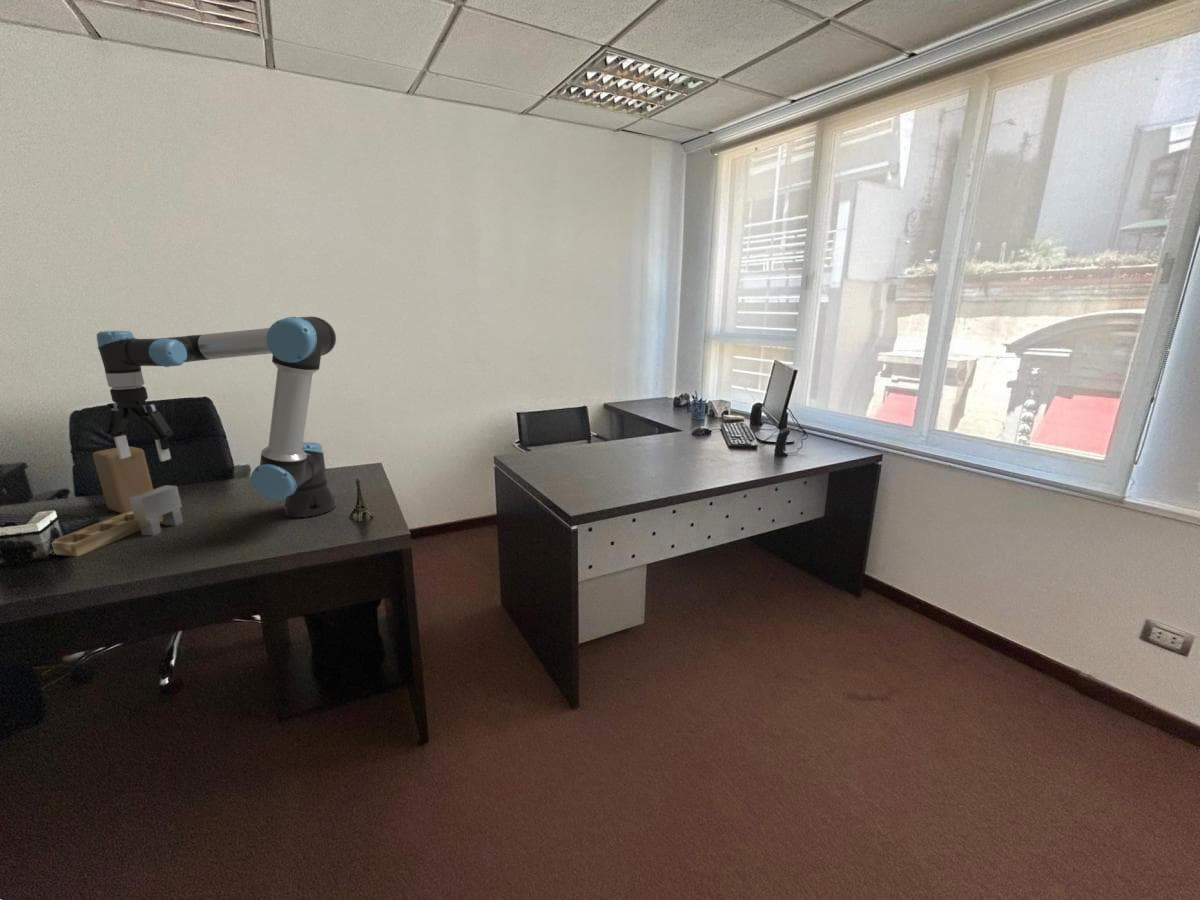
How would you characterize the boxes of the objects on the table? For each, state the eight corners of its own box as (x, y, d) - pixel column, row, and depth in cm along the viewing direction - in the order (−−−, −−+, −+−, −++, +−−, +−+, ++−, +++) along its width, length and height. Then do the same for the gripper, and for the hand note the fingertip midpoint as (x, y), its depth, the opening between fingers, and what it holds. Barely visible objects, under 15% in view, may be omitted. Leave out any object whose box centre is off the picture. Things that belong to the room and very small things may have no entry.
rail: (175, 515, 163) (172, 505, 162) (77, 556, 136) (74, 544, 135) (150, 513, 164) (148, 503, 163) (49, 554, 137) (46, 542, 136)
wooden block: (158, 504, 172) (144, 448, 166) (122, 514, 163) (106, 456, 157) (142, 499, 176) (128, 444, 170) (106, 509, 167) (90, 452, 161)
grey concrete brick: (185, 521, 159) (177, 485, 155) (151, 536, 148) (141, 498, 145) (174, 520, 159) (165, 485, 156) (139, 535, 149) (129, 498, 145)
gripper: (178, 386, 143) (194, 457, 149) (103, 383, 147) (122, 452, 153) (152, 390, 136) (170, 464, 142) (74, 387, 140) (95, 460, 145)
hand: (145, 458), depth 147 cm, fingers open, 13 cm apart
